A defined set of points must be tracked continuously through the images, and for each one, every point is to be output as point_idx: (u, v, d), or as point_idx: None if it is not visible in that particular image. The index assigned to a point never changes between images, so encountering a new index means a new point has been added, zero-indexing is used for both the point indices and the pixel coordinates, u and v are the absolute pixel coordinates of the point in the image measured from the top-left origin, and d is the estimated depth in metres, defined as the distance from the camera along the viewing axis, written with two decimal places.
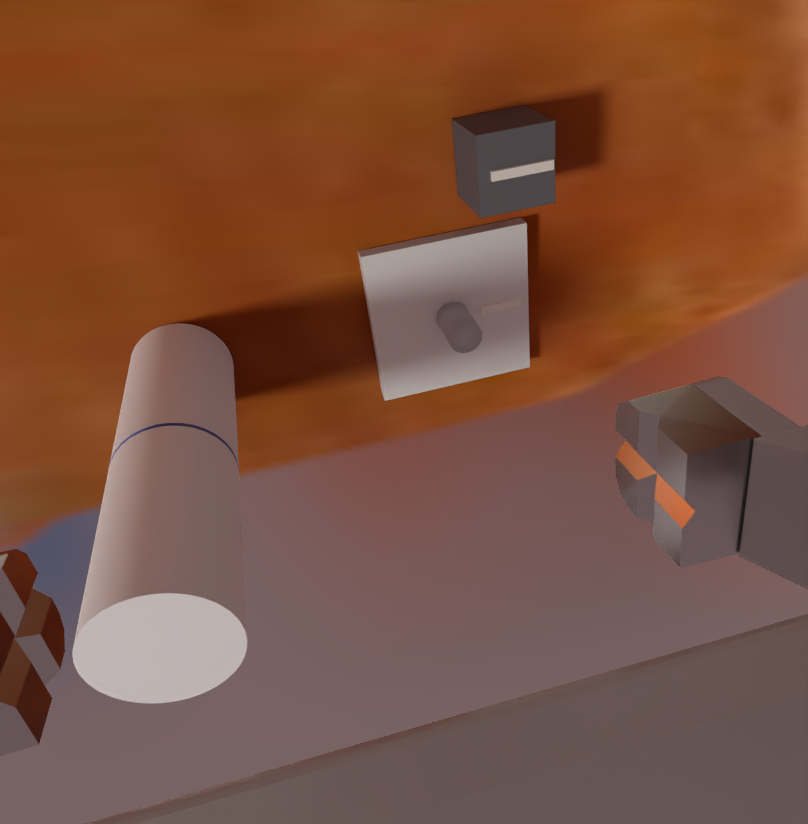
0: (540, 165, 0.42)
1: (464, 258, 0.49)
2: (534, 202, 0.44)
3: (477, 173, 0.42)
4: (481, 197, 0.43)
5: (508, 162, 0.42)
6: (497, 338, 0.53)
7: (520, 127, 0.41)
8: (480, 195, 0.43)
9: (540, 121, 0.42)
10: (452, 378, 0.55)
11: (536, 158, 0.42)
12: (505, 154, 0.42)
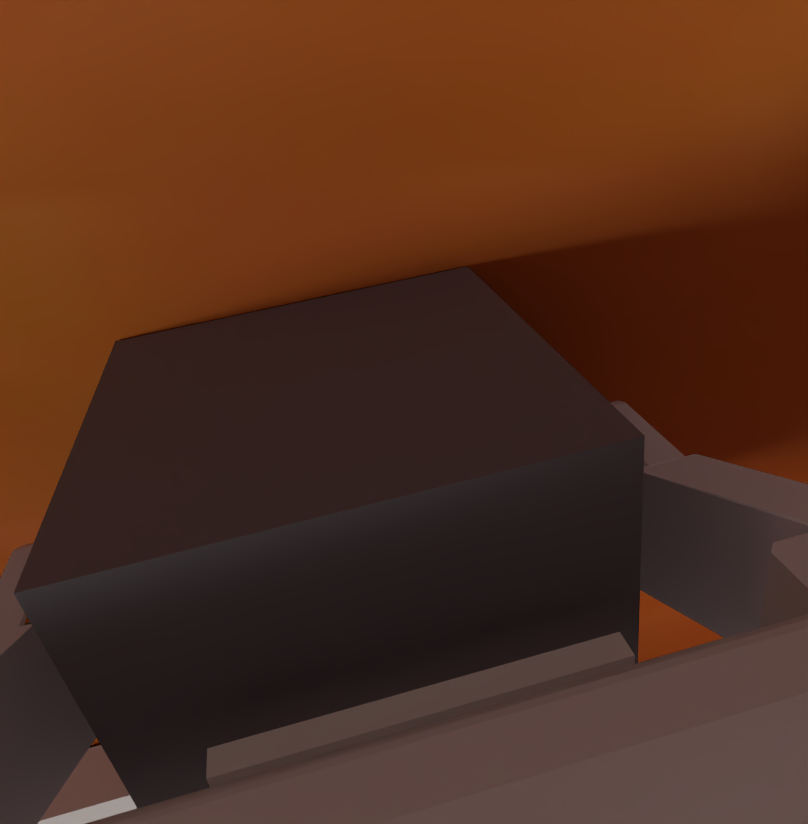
0: None
1: None
2: None
3: (118, 766, 0.06)
4: None
5: (327, 693, 0.06)
6: None
7: (384, 500, 0.05)
8: None
9: (535, 430, 0.06)
10: None
11: (517, 647, 0.06)
12: (297, 658, 0.06)
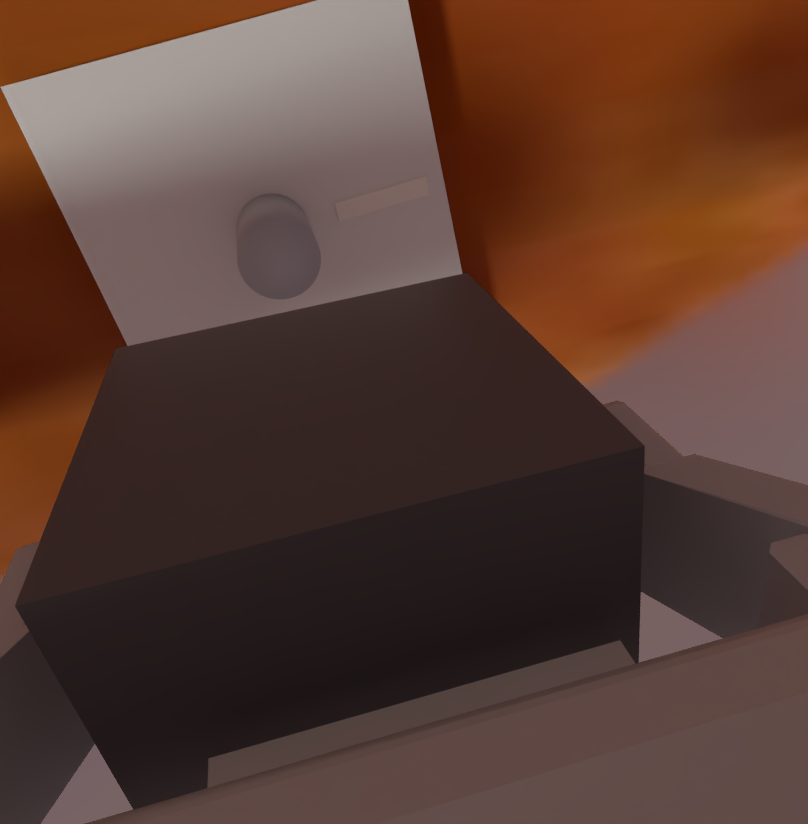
0: None
1: (268, 80, 0.21)
2: None
3: (121, 778, 0.06)
4: None
5: (328, 703, 0.06)
6: (389, 277, 0.25)
7: (384, 511, 0.05)
8: None
9: (535, 440, 0.06)
10: None
11: (518, 656, 0.06)
12: (298, 668, 0.06)
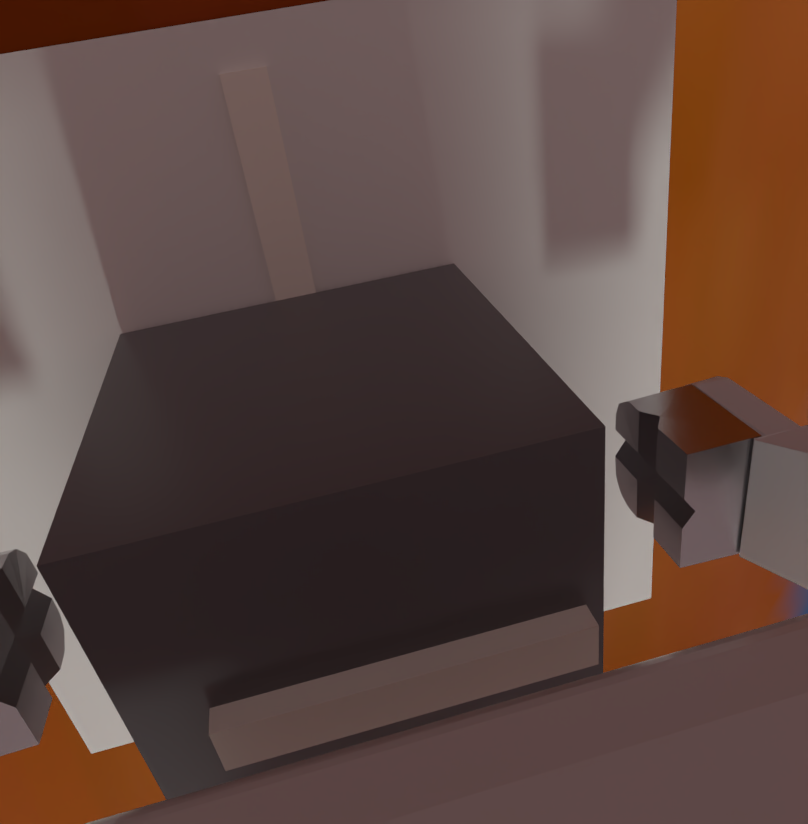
0: (517, 659, 0.07)
1: (25, 422, 0.10)
2: None
3: (129, 725, 0.07)
4: None
5: (318, 659, 0.07)
6: (464, 188, 0.10)
7: (369, 484, 0.06)
8: None
9: (508, 421, 0.07)
10: (629, 379, 0.12)
11: (492, 618, 0.07)
12: (291, 626, 0.07)
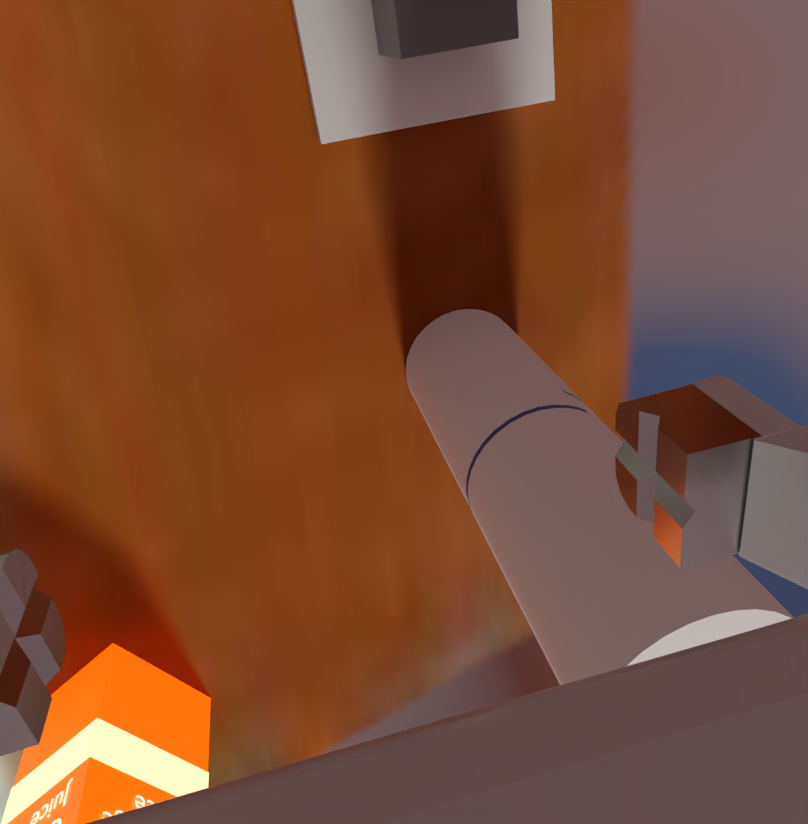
0: None
1: None
2: (486, 36, 0.28)
3: None
4: (400, 23, 0.27)
5: None
6: None
7: None
8: (398, 18, 0.27)
9: None
10: None
11: None
12: None
